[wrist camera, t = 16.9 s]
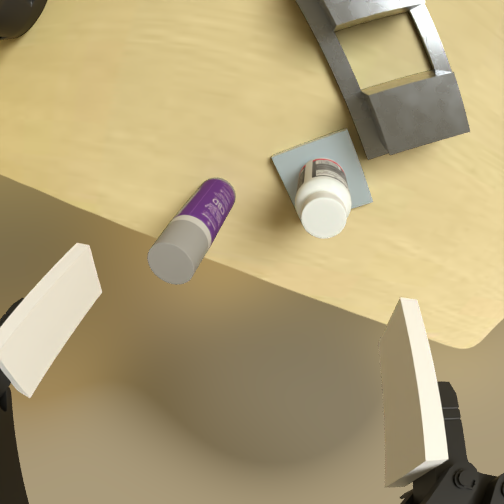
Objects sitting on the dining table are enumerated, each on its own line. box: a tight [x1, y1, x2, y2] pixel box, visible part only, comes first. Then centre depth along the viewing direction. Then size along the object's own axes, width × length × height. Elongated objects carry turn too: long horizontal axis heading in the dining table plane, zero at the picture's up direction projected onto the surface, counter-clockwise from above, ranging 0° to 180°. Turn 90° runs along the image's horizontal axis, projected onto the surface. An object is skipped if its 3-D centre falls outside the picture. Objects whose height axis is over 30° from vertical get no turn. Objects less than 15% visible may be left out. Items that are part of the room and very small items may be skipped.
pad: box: [271, 128, 373, 223], centre depth 35 cm, size 9×9×1 cm
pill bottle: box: [295, 157, 352, 238], centre depth 31 cm, size 5×5×10 cm
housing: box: [296, 0, 470, 160], centre depth 24 cm, size 22×13×6 cm, turn 26°
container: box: [148, 178, 236, 284], centre depth 33 cm, size 5×5×15 cm
